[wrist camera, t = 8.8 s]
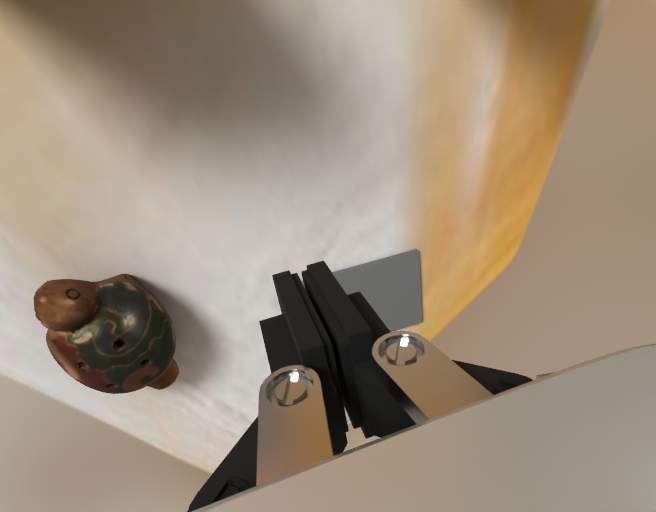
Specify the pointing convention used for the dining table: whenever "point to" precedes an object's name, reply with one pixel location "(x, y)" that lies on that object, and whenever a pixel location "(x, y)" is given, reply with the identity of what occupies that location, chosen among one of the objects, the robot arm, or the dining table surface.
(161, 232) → the dining table surface
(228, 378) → the dining table surface
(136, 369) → the decorative turtle
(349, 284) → the slate mat
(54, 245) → the dining table surface
